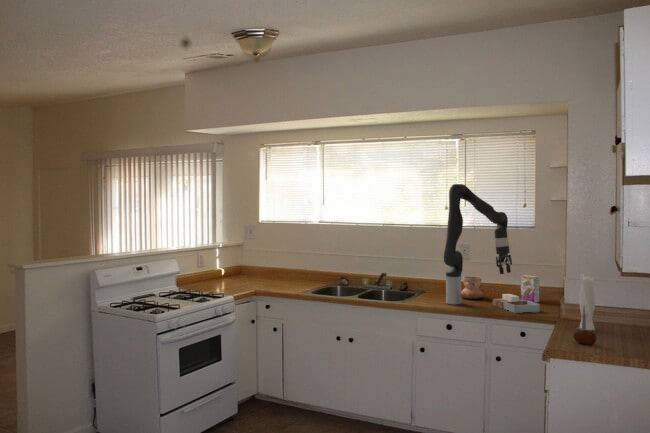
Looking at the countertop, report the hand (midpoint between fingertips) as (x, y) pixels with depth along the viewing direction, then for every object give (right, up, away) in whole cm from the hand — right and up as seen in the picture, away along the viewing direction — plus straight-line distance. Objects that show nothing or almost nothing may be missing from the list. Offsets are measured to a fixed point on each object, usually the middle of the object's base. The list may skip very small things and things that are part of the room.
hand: (505, 273), depth 329 cm
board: (+7, -22, +15) cm, 27 cm away
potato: (+11, -24, -76) cm, 81 cm away
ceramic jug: (-8, -21, +45) cm, 50 cm away
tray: (+10, -22, +1) cm, 24 cm away
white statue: (+26, -24, -47) cm, 58 cm away
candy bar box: (+26, -21, +31) cm, 45 cm away
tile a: (+7, -18, +16) cm, 25 cm away
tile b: (+8, -18, +11) cm, 22 cm away
